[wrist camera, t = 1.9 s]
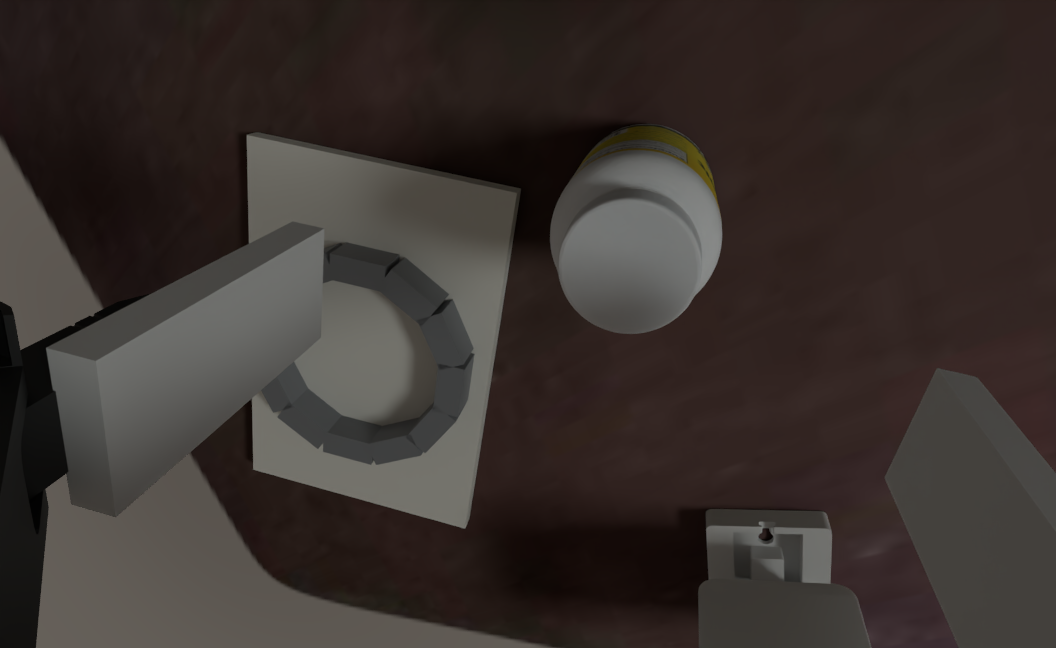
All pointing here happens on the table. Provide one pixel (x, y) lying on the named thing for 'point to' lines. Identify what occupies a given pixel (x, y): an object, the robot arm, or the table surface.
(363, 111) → the table surface
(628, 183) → the supplement bottle
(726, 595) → the security camera
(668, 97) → the table surface
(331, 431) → the socket board
